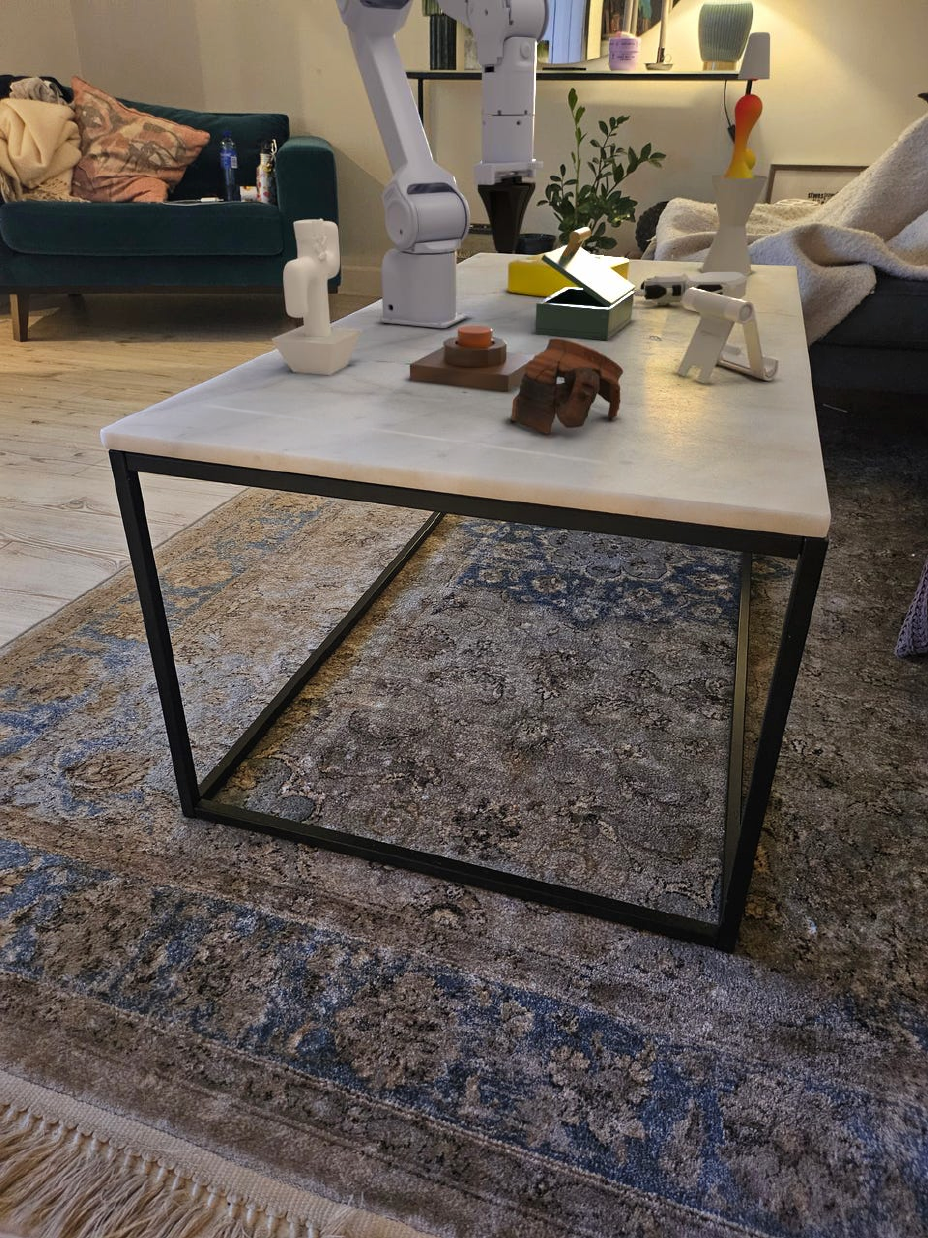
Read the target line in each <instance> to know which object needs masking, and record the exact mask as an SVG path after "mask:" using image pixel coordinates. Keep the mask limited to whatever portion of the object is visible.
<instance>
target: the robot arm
mask: <svg viewBox="0 0 928 1238" xmlns="http://www.w3.org/2000/svg"><path fill="white" fill-rule="evenodd" d="M436 1H437V5H438V7H439V8H440V10H441V11H442V12H443V13H444V14H445V15H446V16H447V17H449V18H450V19H453V20H455V22H458V23H460V24H461V25H463V26H465V27H467V28H468V29H470V30H471V33H472V36H473V38H474V40H475V43H476V58H477V60H478V64H479V66H481V160H480V161H479V162H478V163H475V164H474V165H473V184H474V185H476V186H477V193H478V195H479V197H480V199H481V200H482V203H483V205H484V208H485V211H486V214H487V218H488V221H489V226H490V231H491V236H492V240H493V241H492V242H493V245H494V249H495V251H496V252H515V251H516V250H517V246H518V243H519V239H520V234H521V230H522V226H523V221H524V217H525V213H526V212H527V211H526V210H527V208H528V206H529V204H530V203H529V202H530V201H531V198H532V196H533V195H534V192H535V191H536V187H537V186H536V184H537V183H536V181H529V180H528V181H527V180H525V181H524V180H523V179H528V178H529V179H534V178H537V170H541V169H543V168H544V161H537V158H534V139H535V138H534V137H535V110H536V109H535V107H536V78H537V77H536V76H537V74H536V72H537V46H538V45H539V44H540V43H541V41H542V40H543V39H544V38H545V36H546V33H547V30H548V27H549V24H550V23H549V22H550V12H551V11H550V2H549V0H436ZM335 2H336V5H337V6H336V7H337V8H338V9H337V10H338V11H339V15H340V18H341V21H342V23H343V24H344V25H345V26H346V28H347V33H348V39H349V42H350V45H351V50H352V52H353V55H354V58H355V62H356V65H357V67H358V71H359V74H360V77H361V80H362V84H363V86H364V90H365V93H366V96H367V98H368V102H369V105H370V108H371V111H372V113H373V114H372V115H373V117H374V120H375V123H376V126H377V129H378V133H379V136H380V139H381V141H382V145H383V148H384V151H385V154H386V157H387V160H388V164H389V167H390V169H391V173H392V177H391V179H389V181H388V182H387V183H386V184H385V187H384V189H383V191H382V194H381V196H380V199H381V201H382V205H383V210H384V225H385V230H386V233H387V235H388V237H389V239H390V241H391V243H392V244H393V245H394V247H395V248H390V249H388V250H387V251H386V252H385V254H384V255H383V258H382V262H381V270H380V271H381V272H380V277H381V280H380V282H381V303H382V317H381V318H380V323H385V324H393V325H394V324H395V325H403V326H405V325H406V326H415V327H426V328H435V329H446V328H448V327H450V326H453V325H454V324H456V323H458V322H461V321H463V320H465V319H467V318H468V317H469V315H468V313H463V312H457V311H458V310H457V303H458V302H457V300H458V299H457V296H458V295H457V289H458V288H457V285H458V284H457V281H458V280H457V279H458V278H457V274H458V273H457V272H458V271H457V267H458V266H457V265H458V264H457V262H458V261H457V259H458V257H457V250H461V249H462V242H463V241H464V240H466V238H467V236H468V234H469V231H470V227H471V218H472V217H471V211H470V210H471V209H470V208H469V207H470V206H469V203H468V201H467V199H466V198H465V196H464V195H463V193H462V192H461V191H460V189H459V187H458V185H457V181H456V179H455V176H453V174H451V173H450V172H449V171H447V170H445V169H444V168H443V167H441V166H440V165H438V164H437V163H436V162H435V161H434V157H433V154H432V151H431V148H430V146H429V142H428V139H427V136H426V133H425V130H424V127H423V123H422V120H421V117H420V114H419V110H418V107H417V104H416V101H415V98H414V95H413V92H412V89H411V86H410V84H409V80H408V77H407V73H406V70H405V66H404V64H403V60H402V57H401V55H400V51H399V47H398V45H397V42H396V38H395V37H396V36H395V35H396V33H397V32H399V31H400V30H402V29H403V28H404V27H405V26H406V23H407V20H408V17H409V15H410V12H411V8H412V6H413V3H414V0H335Z"/></svg>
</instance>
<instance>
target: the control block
mask: <svg viewBox="0 0 928 1238" xmlns="http://www.w3.org/2000/svg"><path fill="white" fill-rule="evenodd" d="M442 344H443V345H442V347H440V348H438V349H436V350H434V351H432V352H431V353H429V354H426V355H425V356H423V357H421V358H419V359H418V360H415V361H413V362H412V363H410V364H409V381H413V382H420V383H429V384H437V385H445V386H454V387H462V388H470V389H479V390H486V391H487V390H488V391H494V392H495V391H497V392H504V393H509V392H510V391H512V390H513V389H515V387H518V385H521V383H522V382H521V380H522V378H523V376H524V374H525V373H526V371H525V367H526V366H527V365H528V363H529V361H530V360H532V359H533V358H534V357H535V356H536V355H537V354H536V355H535V354H527V353H526V354H525V353H517V352H509V351H507V347H508V346H507V345H508V344H507V342H506V341H505V340H504V339H502V338H499V337H496V336H495V337H494V336H492V345H491V346H486V347H464V346H460V345H458V336H454V337H449V338H447V339H445V340H444V341H443V342H442Z"/></svg>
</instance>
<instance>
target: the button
mask: <svg viewBox="0 0 928 1238" xmlns="http://www.w3.org/2000/svg"><path fill="white" fill-rule="evenodd" d="M457 337H458V345H460V346H464V347H486V346H491V345H492V337H493V328H492V327H489V326H484V325H463V326H460V327H459V328H457Z"/></svg>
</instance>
